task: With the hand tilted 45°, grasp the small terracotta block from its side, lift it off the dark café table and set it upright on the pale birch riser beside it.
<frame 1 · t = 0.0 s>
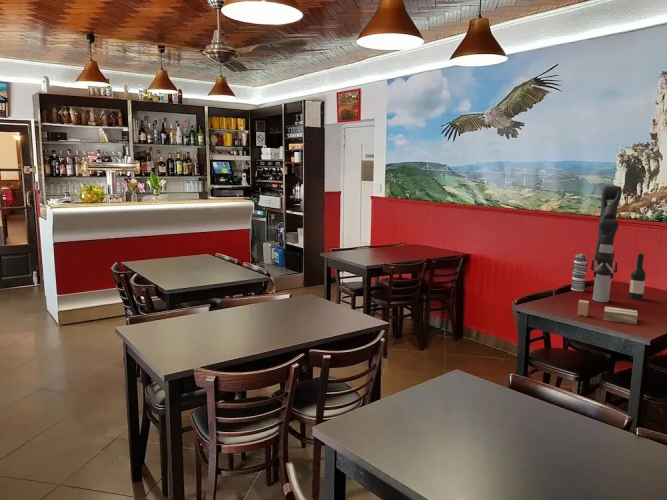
hand: (602, 278, 316), 17 cm above the table, tool pointing down, fingers open, 8 cm apart
leaning tower model: (577, 290, 359), on the table
birch riser: (619, 319, 289), on the table
wine bottle: (635, 298, 338), on the table
terracotta block: (582, 314, 297), on the table
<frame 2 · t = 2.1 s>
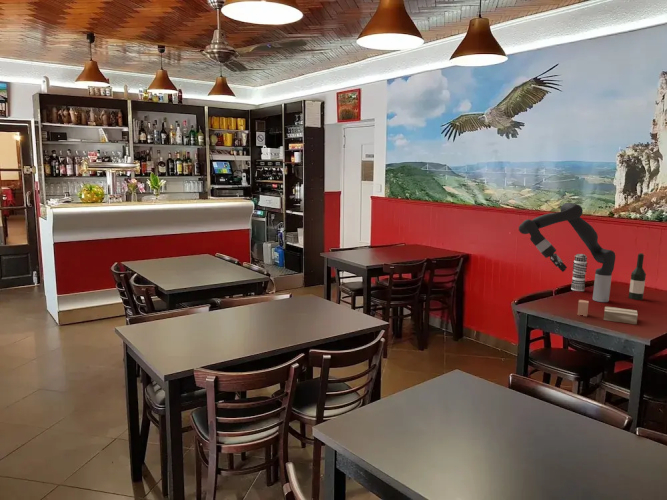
hand: (565, 269, 298), 25 cm above the table, tool tilted 45°, fingers open, 8 cm apart
nothing on the table moved.
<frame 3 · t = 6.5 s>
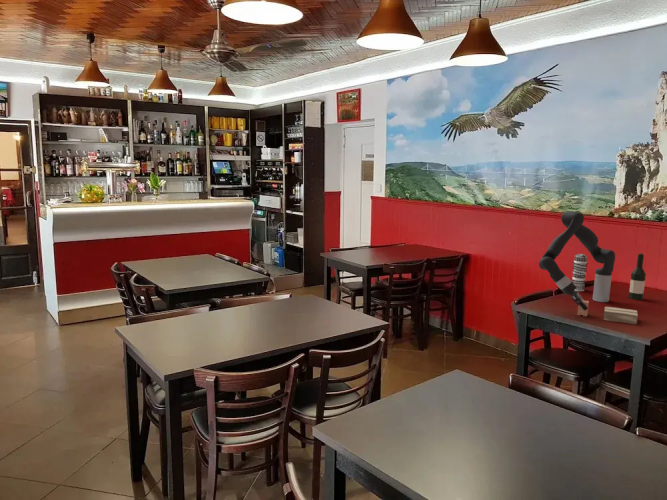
hand: (586, 308, 295), 4 cm above the table, tool tilted 45°, fingers closed on terracotta block, 5 cm apart
terracotta block: (582, 314, 297), on the table, touching gripper
everything else where it was.
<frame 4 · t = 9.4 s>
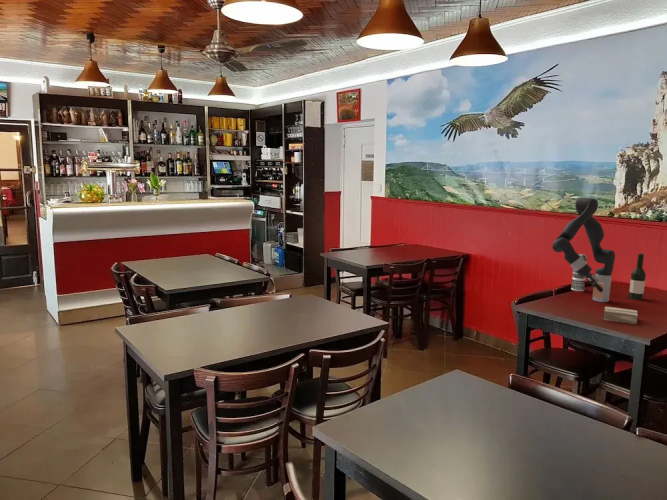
hand: (602, 290, 290), 16 cm above the table, tool tilted 45°, fingers closed on terracotta block, 5 cm apart
terracotta block: (597, 296, 292), point 12 cm above the table, touching gripper
everything else where it was.
when the fingers open (11 cm above the table, at t = 12.0 s): terracotta block drops 1 cm, resting on birch riser.
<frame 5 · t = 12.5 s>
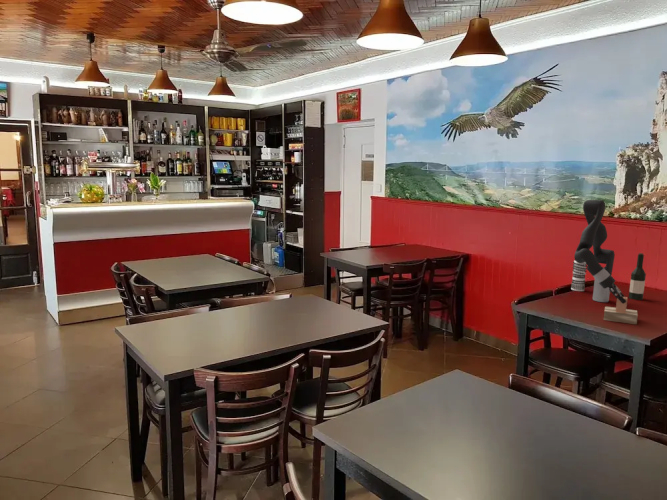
hand: (624, 301, 285), 11 cm above the table, tool tilted 45°, fingers open, 8 cm apart
terracotta block: (620, 311, 287), point 5 cm above the table, touching birch riser
everything else where it was.
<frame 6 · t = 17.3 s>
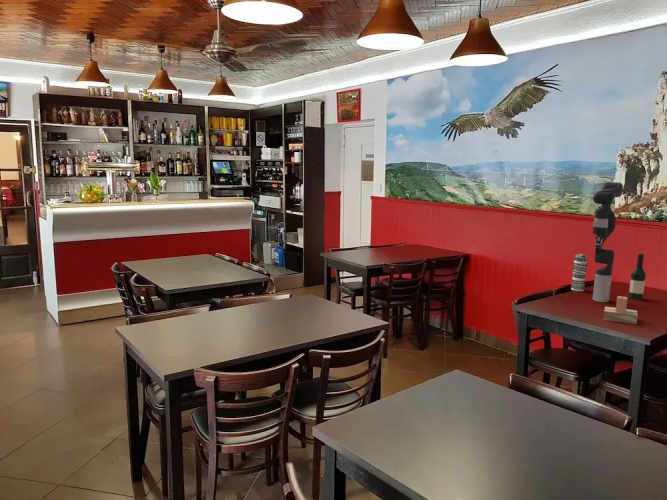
hand: (597, 253, 302), 34 cm above the table, tool pointing down, fingers open, 8 cm apart
nothing on the table moved.
at the end: terracotta block inside the target area on the birch riser (1.5 cm from its centre), point 5.0 cm above the birch riser's base; terracotta block tilted 0°; the gripper is holding nothing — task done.
